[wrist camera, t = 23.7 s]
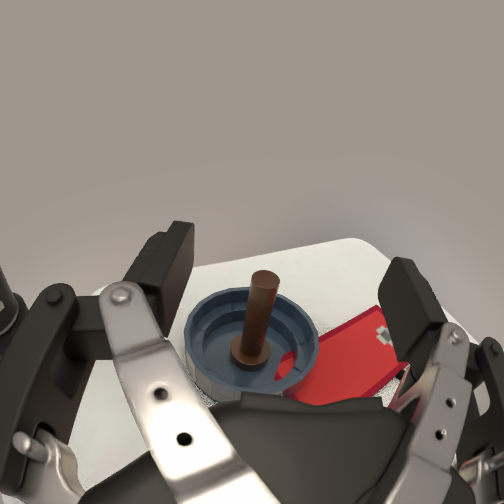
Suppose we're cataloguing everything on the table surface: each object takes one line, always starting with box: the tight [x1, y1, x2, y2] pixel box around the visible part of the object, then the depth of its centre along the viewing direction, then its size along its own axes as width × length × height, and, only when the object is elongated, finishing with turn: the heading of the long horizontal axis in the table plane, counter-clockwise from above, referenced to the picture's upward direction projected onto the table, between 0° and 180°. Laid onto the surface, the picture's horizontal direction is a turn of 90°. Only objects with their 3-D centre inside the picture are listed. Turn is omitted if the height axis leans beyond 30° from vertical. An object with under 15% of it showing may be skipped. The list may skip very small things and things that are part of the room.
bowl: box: [184, 287, 319, 403], centre depth 32 cm, size 15×15×5 cm
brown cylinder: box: [230, 270, 280, 372], centre depth 29 cm, size 5×5×13 cm
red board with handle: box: [274, 305, 409, 405], centre depth 34 cm, size 30×3×15 cm
